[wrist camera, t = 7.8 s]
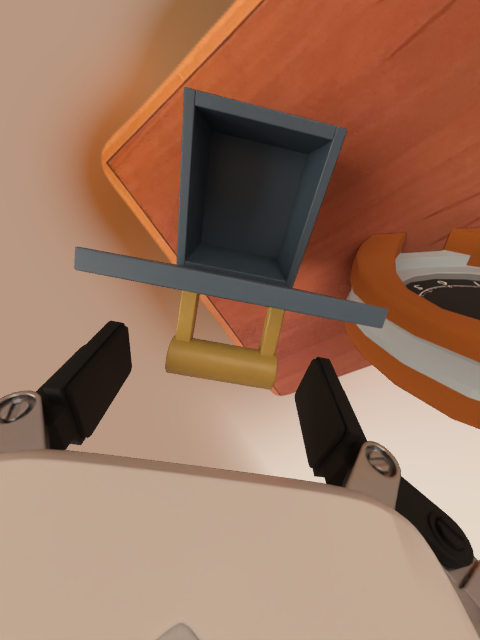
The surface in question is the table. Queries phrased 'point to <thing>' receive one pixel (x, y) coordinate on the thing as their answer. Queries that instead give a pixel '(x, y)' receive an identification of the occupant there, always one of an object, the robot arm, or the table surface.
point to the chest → (250, 187)
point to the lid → (219, 357)
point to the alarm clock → (424, 318)
